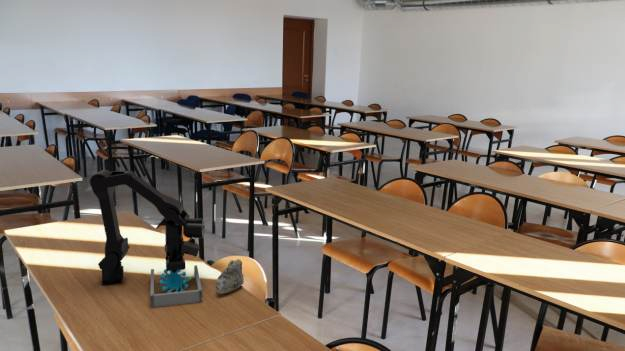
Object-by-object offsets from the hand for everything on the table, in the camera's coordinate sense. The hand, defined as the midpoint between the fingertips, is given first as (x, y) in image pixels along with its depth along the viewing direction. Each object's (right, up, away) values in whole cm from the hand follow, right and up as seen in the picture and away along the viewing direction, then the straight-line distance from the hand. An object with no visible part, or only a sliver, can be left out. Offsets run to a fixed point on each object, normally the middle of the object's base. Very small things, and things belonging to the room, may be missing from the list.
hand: (175, 277), depth 165 cm
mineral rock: (+19, -3, -1) cm, 20 cm away
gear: (+2, -3, -6) cm, 7 cm away
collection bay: (+2, -3, -5) cm, 7 cm away
